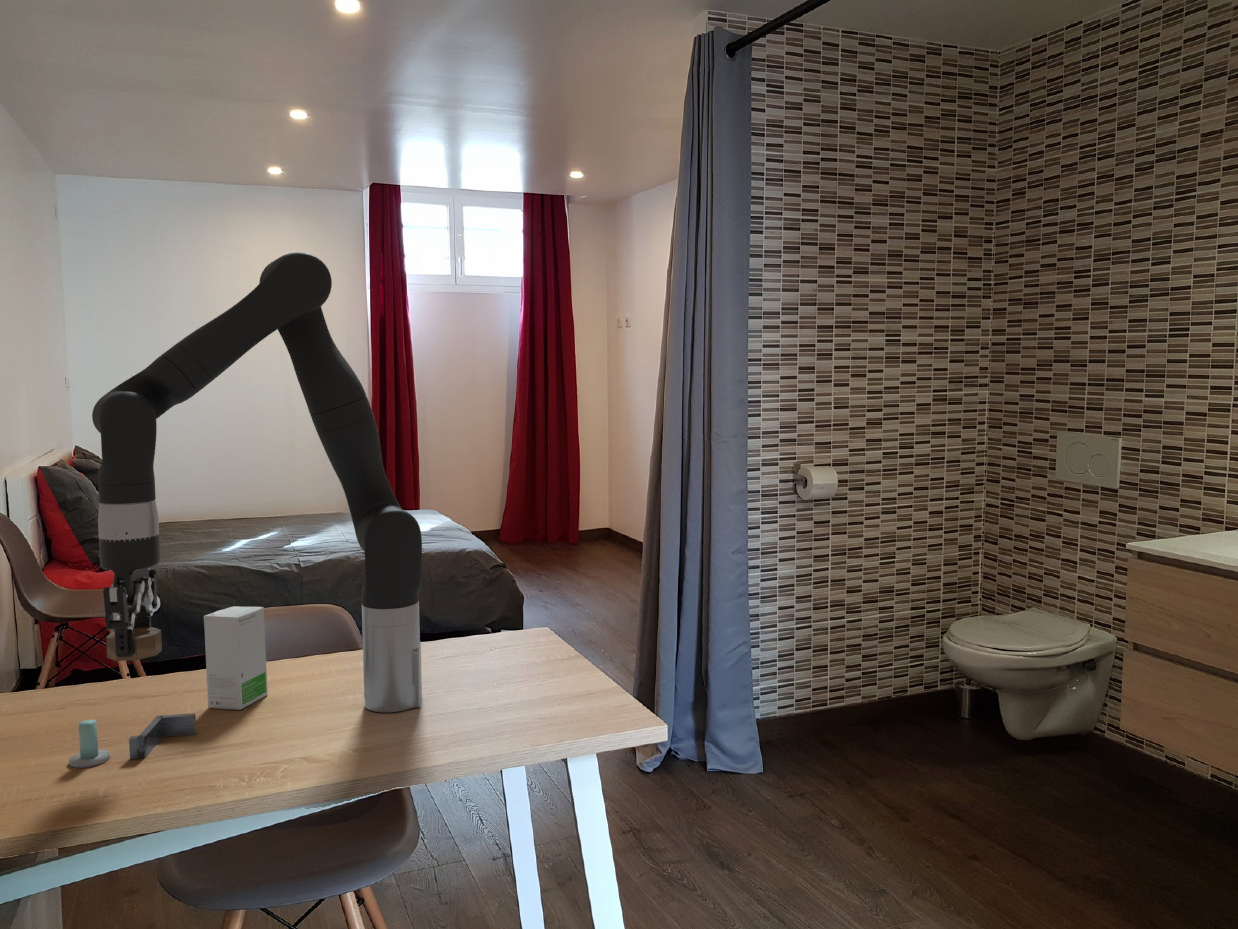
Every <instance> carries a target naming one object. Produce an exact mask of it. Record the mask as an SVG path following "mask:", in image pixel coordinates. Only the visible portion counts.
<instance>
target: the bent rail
mask: <svg viewBox="0 0 1238 929" xmlns="http://www.w3.org/2000/svg"><path fill="white" fill-rule="evenodd" d="M196 722H197V721H196V713H181V714H164V715H163V714H161V715H156V716H155V717H154V718H153V720H152V721H151V722H150V723H149V724H148V725H147V726H146V728H144V729H143V731H142V732H140V734H139V735H131V736H130V737H129V738H128V743H129V744H128V745H129V747H128V748H129V760H135V759H146V758H147V756H148V755H149V754H150V753H151V752H152V751H153V749H154V748H155V747H156V746H157V744H158V743H159V742H160V741H161V740H162V739H163V738H166V737H179V736H180V737H181V736H195V734H197V723H196Z"/></svg>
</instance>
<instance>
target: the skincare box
mask: <svg viewBox="0 0 1238 929" xmlns="http://www.w3.org/2000/svg"><path fill="white" fill-rule="evenodd" d="M264 610H265V607H263V606H235V605H234V606H230V607H227V608H224V609H220V610H216V611H215V612H211V613H209V614H208V613H207V614H205V615H204V616H203V624H204V626H203V627H204V642H205V643H204V647H205V666H206V687H207V688H206V689H207V691H206V692H207V707H208V708H210V709H219V710H221V709H222V710H240V711H241V710H242V709H245V708H247V707H248V706H250V705H252V704H253V703H255V702H257V701H259V700H261V699H262V698H264V697H267V696H268V675H267V674H268V672H267V654H266V653H267V652H266V651H267V650H266V633H265V632H266V630H265V611H264Z"/></svg>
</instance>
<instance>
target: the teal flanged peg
mask: <svg viewBox="0 0 1238 929" xmlns="http://www.w3.org/2000/svg"><path fill="white" fill-rule="evenodd" d="M97 725H98V724H97V720H96V719H86V720H81V721H79V722H78V737H79V738H78V739H79V751H80V752H78V753H76V754H74V755H72V756H71V757H70V758H69V759H68V764H69V765H68V766H69V767H71V768H74V769H84V768H85V769H86V768H91V767H95V766H99V765H102V764H103V763H105V762H107V761H109V759H110V755H111V754H110V751H109V750H107V749H102V748H101V749H100V748H99V741H98V740H99V738H98V726H97Z"/></svg>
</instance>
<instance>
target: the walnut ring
mask: <svg viewBox="0 0 1238 929" xmlns="http://www.w3.org/2000/svg"><path fill="white" fill-rule="evenodd" d="M133 629H134V650H135V653H134V654H133V655H132V656H130V657H118V656H117V655H116V645H115V631H112V632H110V634H108V635H107V636H106V637H105V638H106V639H105V640H106V641H105V642H106V658H107V659H110V660H112V661H116V662H121V661H122V662H125V661H127V662H128V661H139V660H143V659H146V658H151V657H155V656H157V655H158V654H160V653H161V652H162V651H163V647H162V646H163V644H162V629H159V628H157V627H153V626H151V627H143V628H133Z"/></svg>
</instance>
